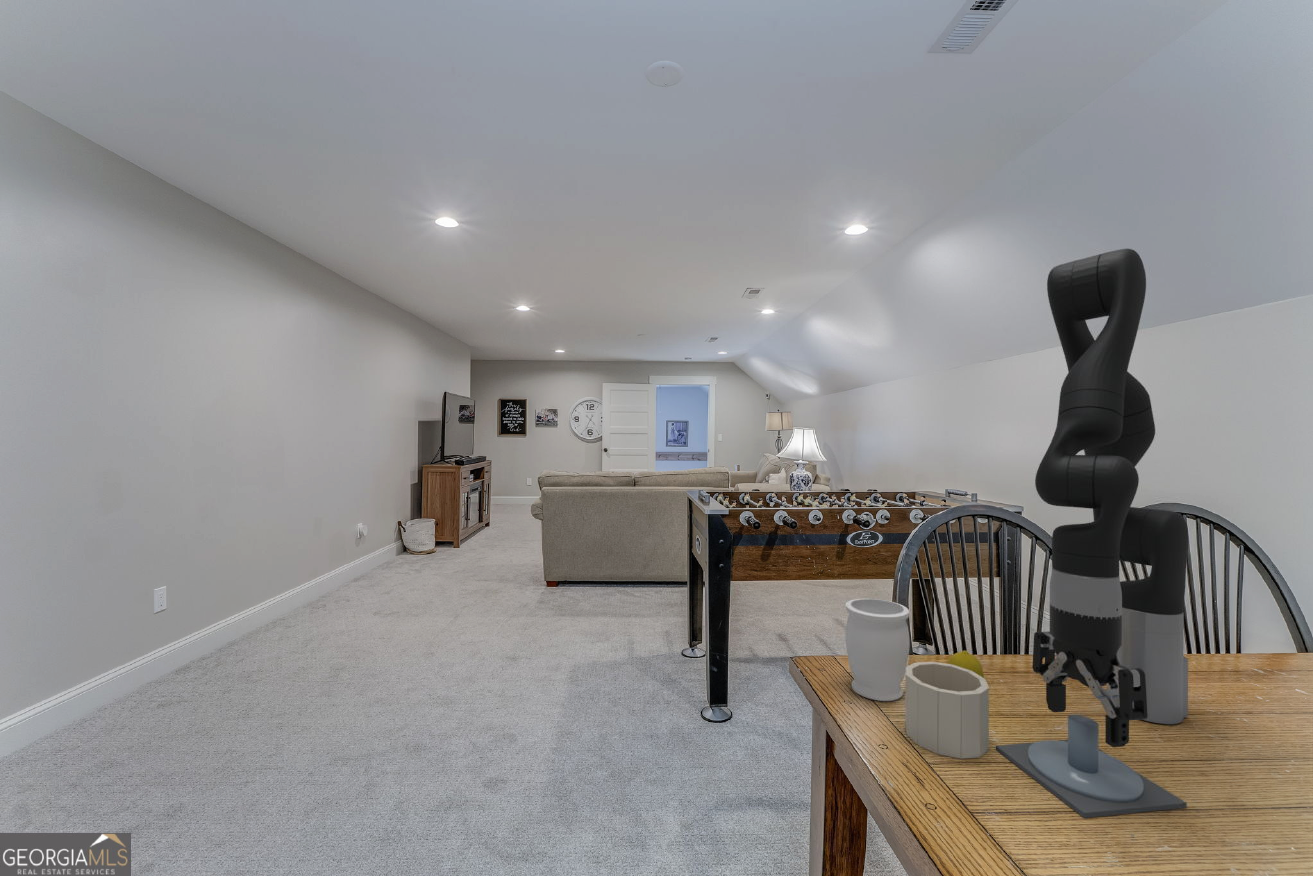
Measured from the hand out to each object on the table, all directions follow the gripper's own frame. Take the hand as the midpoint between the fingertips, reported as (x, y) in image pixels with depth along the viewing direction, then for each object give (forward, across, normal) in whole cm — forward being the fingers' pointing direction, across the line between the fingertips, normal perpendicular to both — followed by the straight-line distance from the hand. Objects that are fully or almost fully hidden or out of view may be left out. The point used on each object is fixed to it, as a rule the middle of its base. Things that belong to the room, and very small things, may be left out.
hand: (1084, 727), depth 72 cm
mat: (+7, 0, 0) cm, 7 cm away
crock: (+6, +11, +12) cm, 18 cm away
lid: (+6, 0, 0) cm, 6 cm away
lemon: (+7, +22, +1) cm, 23 cm away
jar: (+7, +26, +15) cm, 31 cm away
